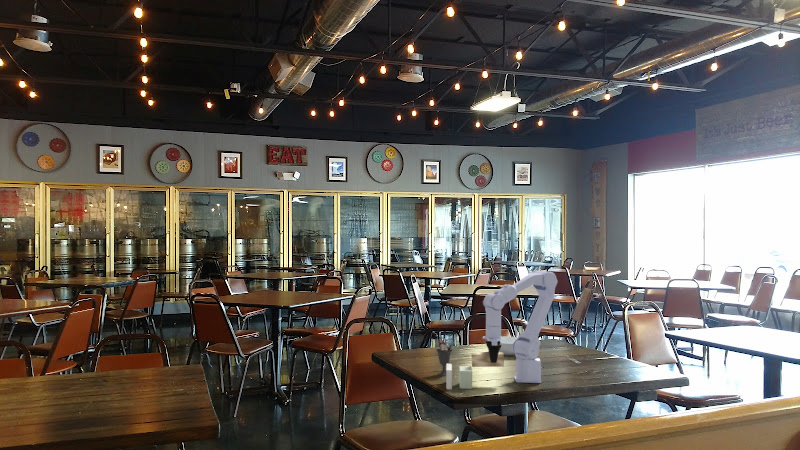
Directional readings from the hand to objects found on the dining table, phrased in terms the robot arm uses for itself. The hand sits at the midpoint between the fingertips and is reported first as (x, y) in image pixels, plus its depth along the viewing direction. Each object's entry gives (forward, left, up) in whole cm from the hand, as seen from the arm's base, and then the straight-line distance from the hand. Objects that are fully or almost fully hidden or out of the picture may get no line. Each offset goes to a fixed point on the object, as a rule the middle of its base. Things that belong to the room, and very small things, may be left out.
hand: (493, 361), depth 220 cm
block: (+10, +3, -9) cm, 14 cm away
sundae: (+19, -15, -9) cm, 26 cm away
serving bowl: (-12, -60, -9) cm, 62 cm away
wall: (+17, +3, -9) cm, 19 cm away
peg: (+2, 0, -2) cm, 3 cm away
